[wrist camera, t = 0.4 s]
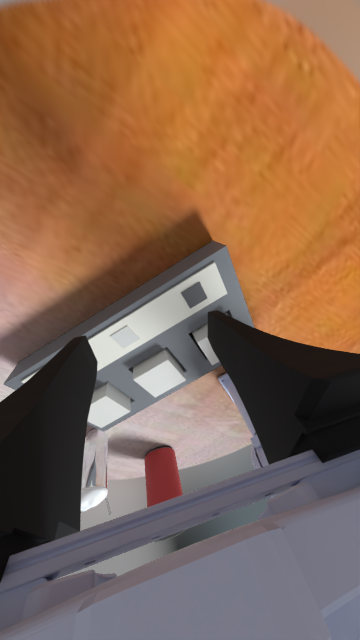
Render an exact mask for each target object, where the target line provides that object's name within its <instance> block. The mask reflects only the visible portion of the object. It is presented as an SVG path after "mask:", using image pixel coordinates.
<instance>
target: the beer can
mask: <svg viewBox="0 0 360 640" xmlns="http://www.w3.org/2000/svg"><path fill="white" fill-rule="evenodd" d="M145 474H146V490H147V507H150V506H153V505H156V504H159V503H161V502H164V501H167V500H170V499H173V498H176V497H178V496H181V495H182V489H181V483H180V478H179V473H178V467H177V462H176V457H175V452H174V450H173V449H172V448H170V447H159V448H156V449H153V450H152V451H150V452H149V453H148V454H147V455H146V457H145ZM184 531H185V530H182V531H180V532H177V533H174V534H172V535H169V536H167V537H164V538H161V539H159V540H156V541H154V542H160V541H164V540H167V539H170V538H172V537H175V536H177V535H179V534H181V533H182V532H184Z"/></svg>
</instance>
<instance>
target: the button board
mask: <svg viewBox="0 0 360 640" xmlns="http://www.w3.org/2000/svg"><path fill="white" fill-rule="evenodd" d="M215 310H218V311H220V312H222V313H225V312H226V313H227V314H228V315H229V316H230V317H232V318H234V319H236V320H238V321H240V322H242V323H244V324H247V325H249V326H251V327H253V328H254V325H253V322H252V319H251V316H250V314H249V311H248V308H247V305H246V302H245V299H244V296H243V293H242V290H241V287H240V284H239V281H238V279H237V276H236V273H235V270H234V267H233V264H232V261H231V258H230V255H229V252H228V249H227V246H226V245H223V244H221V243H218V242H215V241H211V242H210V243H208V244H207V245H205V246H203V247H202V248H200V249H199V250H197V251H195V252H194V253H192V254H191V255H189V256H187V257H186V258H184V259H183V260H181V261H180V262H178V263H176V264H175V265H173V266H172V267H170V268H168V269H167V270H165V271H164V272H162V273H160V274H159V275H157V276H156V277H154V278H152V279H151V280H149V281H148V282H146V283H144V284H143V285H141V286H140V287H138V288H137V289H135V290H133V291H132V292H130V293H129V294H127V295H125V296H124V297H122V298H121V299H119V300H117V301H116V302H114V303H113V304H111V305H109V306H108V307H106V308H105V309H103V310H101V311H100V312H98V313H97V314H95V315H93V316H92V317H90V318H89V319H87V320H86V321H84V322H82V323H81V324H79V325H78V326H76V327H74V328H73V329H71V330H70V331H68V332H66V333H65V334H63V335H62V336H60V337H58V338H57V339H55V340H54V341H52V342H50V343H49V344H47V345H46V346H44V347H43V348H41V349H39V350H38V351H36V352H35V353H33V354H31V355H30V356H28V357H27V358H25V359H23V360H22V361H20V362H19V363H18V364H17V366H16V367H15V368H14V370H13V371H12V373H11V374H10V375H9V377H8V378H7V380H6V381H5V382H4V385H6V386H8V387H10V388H12V389H15V390H17V389H18V388H19V387H20V386H22V385H23V384H24V383H25V382H27V381H28V380H29V379H30V378H31V377H32V376H33V375H34V374H36V373H37V372H38V371H39V370H40V369H41V368H42V367H43V366H44V365H46V364H47V363H48V362H49V361H50V360H51V359H52V358H53V357H54V356H55V355H56V354H57V353H58V352H59V351H60V350H61V349H62V348H63V347H64V346H65V345H66V344H67V343H68V342H69V341H71V340H72V339H73V338H74V337H79V336H85V335H86V337H87V339H88V342H89V344H90V346H91V348H92V350H93V352H94V355H95V357H96V359H97V361H98V364H97V378H96V383H95V388H97V387H99V386H101V385H102V384H104V383H106V382H107V381H108V382H110V383H111V384H112V385H114V386H115V387H117V388H118V389H119V390H121V391H122V392H124V393H125V394H126V395H128V396H129V397H130V398H131V412H129V413H127V414H126V415H124V416H122V417H120V418H118V419H117V420H115V421H113V422H111V423H110V424H108V425H106V426H104V427H103V428H100V427H98V426H96V425H94V424H92V423H90V422H88V421H87V424H88V425H90V426H92V427H94V428H97V429H99V430H101V431H103V432H104V431H106V430H107V429H109V428H111V427H113V426H115V425H116V424H118V423H120V422H122V421H123V420H125V419H127V418H129V417H131V416H132V415H134V414H136V413H138V412H139V411H141V410H143V409H145V408H146V407H148V406H150V405H152V404H154V403H155V402H157V401H159V400H161V399H162V398H164V397H166V396H168V395H170V394H171V393H173V392H175V391H177V390H178V389H180V388H182V387H184V386H186V385H187V384H189V383H191V382H193V381H194V380H196V379H198V378H200V377H202V376H203V375H205V374H207V373H209V372H210V371H212V370H214V369H216V368H218V367H219V366H221V365H222V364H221V363H220V361H219V362H218V363H216V364H214V365H212V364H211V363H210V361H209V360H208V358H207V357H206V355H205V354H204V352H203V351H202V349H201V348H200V346H199V345H198V344H197V342H196V341H195V339H194V338H193V336H192V335H191V332H192V331H194V330H196V329H197V328H199V327H201V326H202V325H204V324H206V323H208V312H210V311H215ZM165 347H168V349H169V350H170V351H171V352H172V353H173V355H174V356H175V357H176V358H177V359H178V361H179V362H180V363H181V366H182V369H183V372H184V375H185V378H186V381H184V382H182V383H180V384H179V385H177V386H175V387H173V388H172V389H170V390H168V391H166V392H164V393H163V394H161V395H159V396H157V397H156V398H155V397H154V396H153V395H151V394H150V393H149V392H148V391H146V390H145V389H144V388H143V387H142V386H140V385H139V384H138V383H137V382H135V381H134V380H133V366H135V365H136V364H138V363H140V362H141V361H143V360H145V359H146V358H148V357H150V356H151V355H153V354H155V353H157V352H158V351H160V350H162V349H163V348H165ZM95 388H94V389H95Z"/></svg>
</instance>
